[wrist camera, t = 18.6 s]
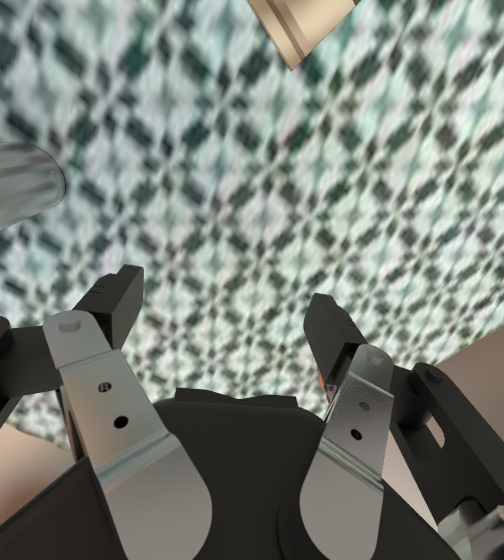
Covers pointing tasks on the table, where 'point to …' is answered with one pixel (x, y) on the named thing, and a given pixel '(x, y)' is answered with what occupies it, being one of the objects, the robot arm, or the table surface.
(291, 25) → the shelf ledge
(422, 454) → the robot arm
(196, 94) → the table surface
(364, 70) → the table surface
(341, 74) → the table surface
